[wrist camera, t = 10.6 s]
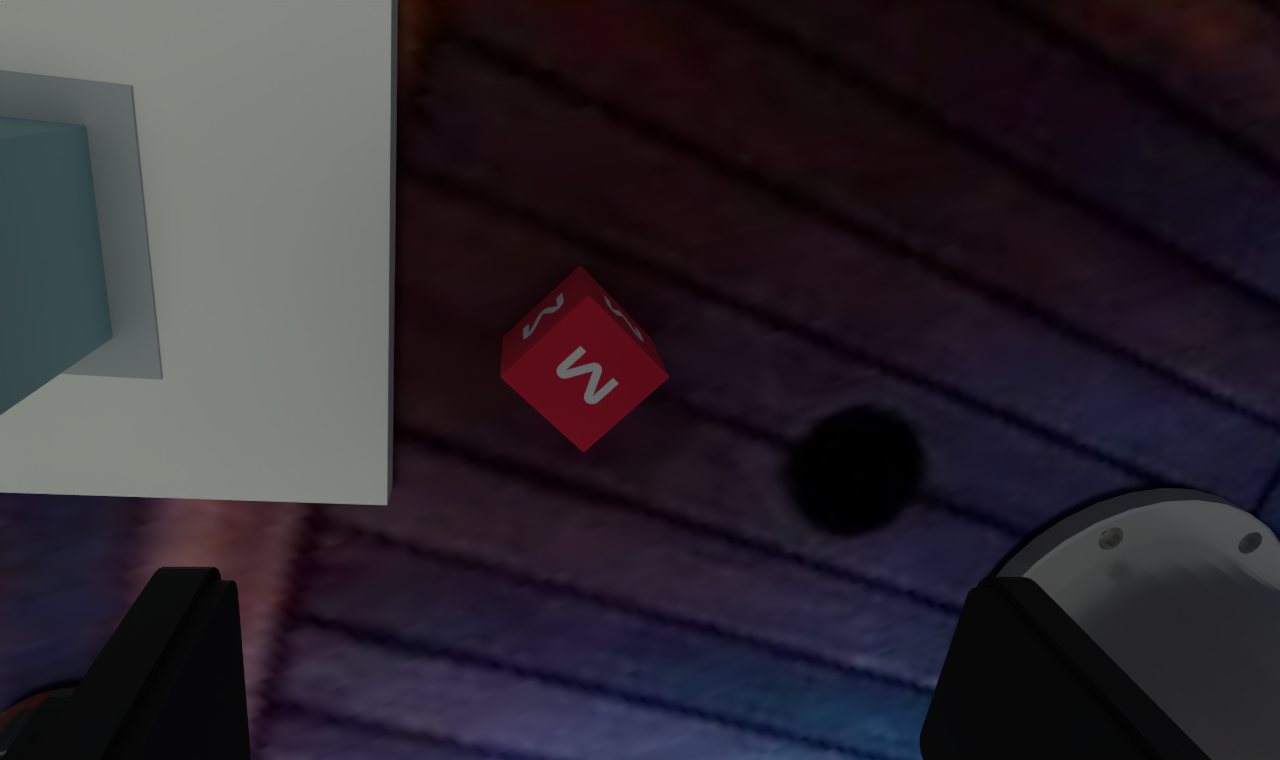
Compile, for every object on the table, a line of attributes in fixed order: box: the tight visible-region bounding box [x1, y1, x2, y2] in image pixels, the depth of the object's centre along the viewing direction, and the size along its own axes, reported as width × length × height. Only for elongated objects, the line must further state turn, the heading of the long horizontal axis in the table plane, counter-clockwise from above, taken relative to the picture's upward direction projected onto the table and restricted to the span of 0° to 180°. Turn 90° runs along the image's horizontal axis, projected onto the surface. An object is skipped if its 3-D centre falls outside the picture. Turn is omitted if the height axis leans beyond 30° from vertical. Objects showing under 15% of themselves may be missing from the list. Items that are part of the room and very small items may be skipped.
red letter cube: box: [500, 266, 669, 452], centre depth 21 cm, size 3×3×3 cm
